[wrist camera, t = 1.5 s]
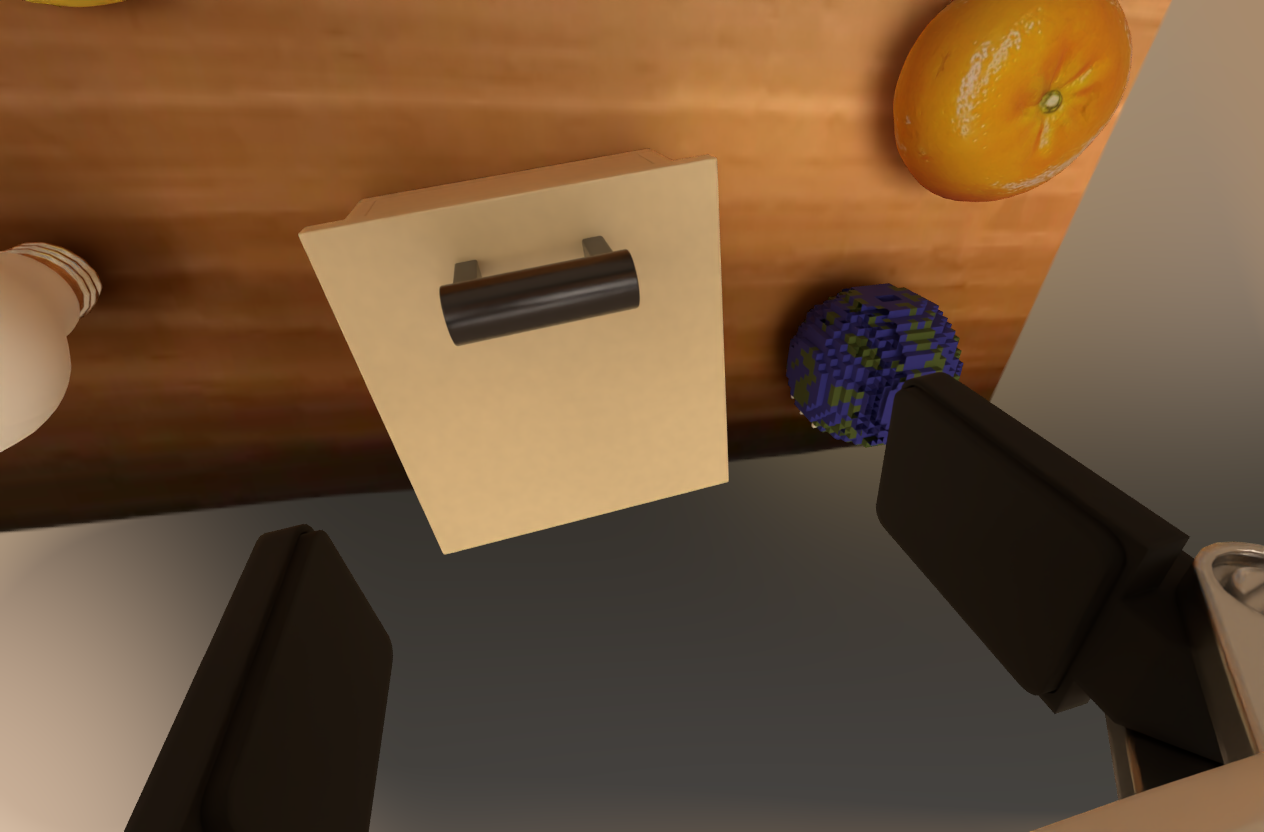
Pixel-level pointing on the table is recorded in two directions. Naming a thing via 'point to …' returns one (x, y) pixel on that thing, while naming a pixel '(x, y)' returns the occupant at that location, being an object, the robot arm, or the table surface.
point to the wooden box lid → (541, 344)
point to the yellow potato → (76, 2)
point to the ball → (866, 358)
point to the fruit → (1008, 93)
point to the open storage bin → (504, 182)
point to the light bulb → (38, 331)
